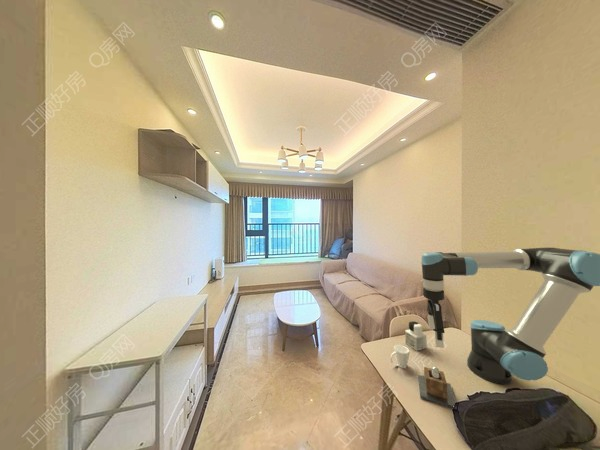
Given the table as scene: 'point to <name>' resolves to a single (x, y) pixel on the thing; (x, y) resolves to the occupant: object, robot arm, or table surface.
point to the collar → (435, 383)
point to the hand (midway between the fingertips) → (435, 337)
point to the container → (415, 336)
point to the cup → (401, 355)
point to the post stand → (433, 398)
